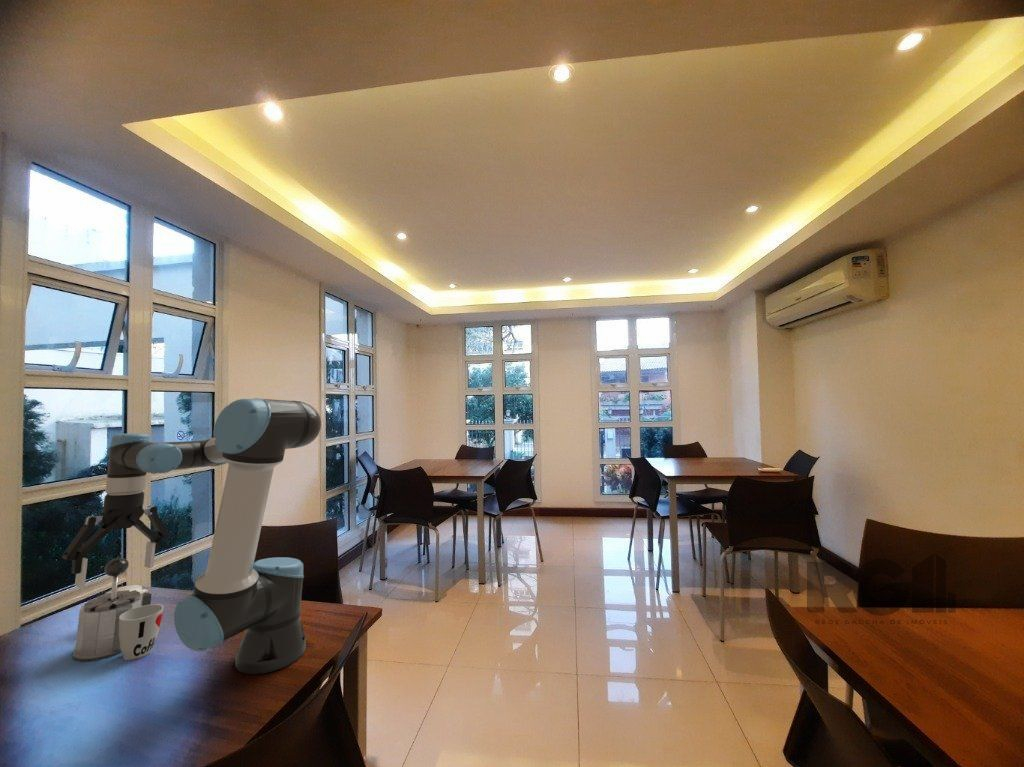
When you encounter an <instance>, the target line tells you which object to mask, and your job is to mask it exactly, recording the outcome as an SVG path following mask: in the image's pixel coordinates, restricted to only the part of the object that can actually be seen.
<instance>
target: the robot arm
mask: <svg viewBox="0 0 1024 767" xmlns="http://www.w3.org/2000/svg"><path fill="white" fill-rule="evenodd" d="M214 423H215V424H214V426H213V432H212V433H213V437H211V438H208V439H203V440H194V441H193V440H191V441H190V440H188V441H186V440H185V441H167V442H164V441H163V442H152V441H151V437H150V434H147V433H135V432H134V433H116V434H115V435H113V436H112V437H111V441H110V444H109V445H110V446H109V448H108V450H109V451H108V452H109V453H108V463H107V476H106V482H105V483H106V484H105V490H104V492H105V493H106V494H105V495H104V499H103V508H102V509H103V511H102V514H101V515H97V516H96V515H94V516H93V515H88V516H85V517H84V520H83V524H82V527H80V529H79V531H78V532H77V533H76V535H75V536H74V538H73V540H71V542H70V543H69V545H68V546H67V547H66V549H65V550H64V552H63V553H62V555H61V558H62V559H64V560H67V561H71V560H72V561H71V562H72V563H71V572H70V573H71V574H73V575H75V579H74V580H75V582H74V586H75V587H76V588H77V587H78V588H84V587H86V580H87V579H86V578H87V569H88V560H89V558H86V556H88V555H89V553H91V551H92V550H93V549H94V548H95V547H96V546H97V545H98V544H99V543H100V542H101V541H102V540H104V539H105V537H106V536H107V535H109V534H110V533H111V532H112V531H115V532H116V531H120V530H122V529H130V528H132V527H135V529H137V530H138V531H140V533H141V534H142V535H144V536H145V537H147V539H149V541H147V542H146V546H145V557H144V566H143V567H144V568H147V569H148V568H149V569H152V568H154V565H155V564H154V563H155V555H156V554H158V553H159V550H160V549H159V547H160V543H161V542H162V541H163V539H166V538H168V537H169V533H168V531H167V529H166V527H165V525H164V523H163V522H162V520H161V518H160V516H159V514H158V507H157V506H154V505H148V506H147V507H145V508H143V506H144V500H145V492H144V490H145V489H146V480H147V473H150V474H153V475H154V474H165V473H166V474H167V473H169V472H171V471H176V470H186V469H187V470H188V469H195V468H196V469H197V468H207V467H212V468H213V467H217V466H218V467H219V466H223V465H226V464H227V465H228V467H227V472H226V477H225V480H224V481H225V482H224V487H223V491H222V496H221V501H220V505H219V510H218V515H217V519H216V523H215V529H214V533H213V537H212V542H211V547H210V551H209V556H208V562H207V566H206V570H205V571H204V572H203V573H201V574H200V575H199V576H198V577H196V579H195V582H194V585H193V591H192V594H189V595H186V596H184V597H183V598H182V599H181V600H179V601H178V603H177V604H176V606H175V609H174V614H173V620H174V628H175V631H176V634H177V635H178V637H179V640H180V641H181V643H182V644H183V645H184V646H185V647H186V648H188V650H191V651H193V652H203V651H206V650H209V649H211V648H213V647H214V646H215V647H216V646H219V645H221V644H222V643H223V642H225V641H227V640H229V639H230V638H233V637H234V636H236V635H239V634H241V633H242V632H244V634H243V636H242V640H241V642H240V644H239V647H238V649H237V650H236V654H235V661H234V662H235V663H234V665H235V666H234V667H235V669H236V670H237V671H238V672H239V673H242V674H248V675H259V674H266V673H271V672H274V671H277V670H280V669H283V668H285V667H287V666H289V665H291V664H293V663H295V661H297V660H298V659H299V658H300V657H302V655H303V654H304V652H305V651H306V645H307V644H306V642H307V639H306V638H307V637H306V634H305V630H304V627H303V624H302V620H301V608H302V599H303V598H302V597H303V584H304V578H305V575H304V562H302V561H301V560H300V559H298V558H293V557H285V556H284V557H280V556H278V557H275V556H274V557H267V558H262V559H259V560H258V559H257V560H256V561H255V559H256V555H257V549H258V545H259V544H258V543H259V540H260V535H261V531H262V530H261V529H262V526H263V521H264V516H265V511H266V506H267V501H268V497H269V492H270V487H271V483H272V478H273V474H274V469H275V467H277V466H278V465H279V464H282V462H283V461H284V456H285V452H286V450H288V449H297V448H301V447H305V446H308V445H309V444H311V443H312V442H314V441H315V440H316V438H317V437H318V435H319V434H320V432H321V428H322V420H321V416H320V414H319V412H318V411H317V409H315V408H314V407H313V405H310V404H309V403H307V402H303V401H300V400H299V401H298V400H284V399H283V400H282V399H272V398H271V399H269V398H258V397H256V398H240V399H235V400H234V401H231V402H230V403H229V404H228V405H226V406H224V407H223V409H222V410H221V411H220V413H219V414H218V416H217V418H216V420H215V422H214ZM143 515H145V516H147V518H148V519H149V521H150V523H151V525H152V527H153V528H154V530H155V532H156V533H155V532H154V531H153V530H152V529H151V528H150V527H149V526H147V525H146V524H145V523H144V522H143V521H142V520H141V518H142V517H143ZM99 522H101V523H102V524H101V526H99V527H98V529H97V531H96V532H95V533H93V535H92V536H90V534H91V533H92V531H93V530H94V529H95V528H94V527H95V526H97V525H98V524H99ZM89 536H90V537H89ZM88 537H89V538H88ZM87 538H88V539H87ZM86 540H87V541H86Z"/></svg>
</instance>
